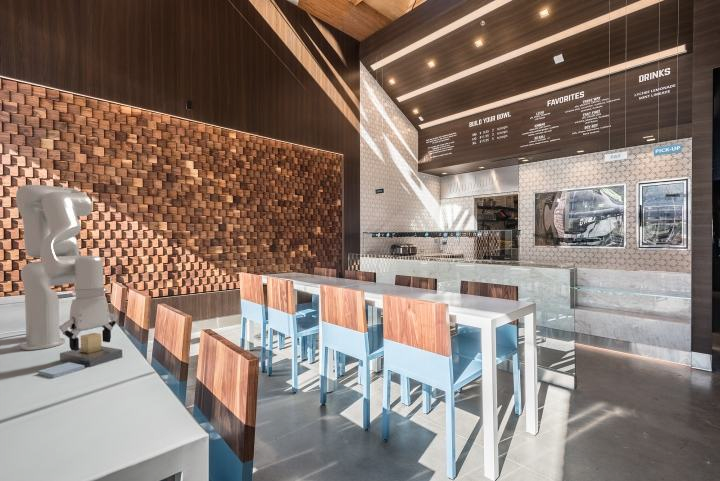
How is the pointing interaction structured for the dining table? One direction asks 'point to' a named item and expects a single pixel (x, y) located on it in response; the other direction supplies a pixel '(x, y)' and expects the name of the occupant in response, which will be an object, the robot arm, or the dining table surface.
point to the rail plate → (91, 356)
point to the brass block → (90, 343)
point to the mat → (61, 369)
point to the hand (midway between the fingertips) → (91, 345)
